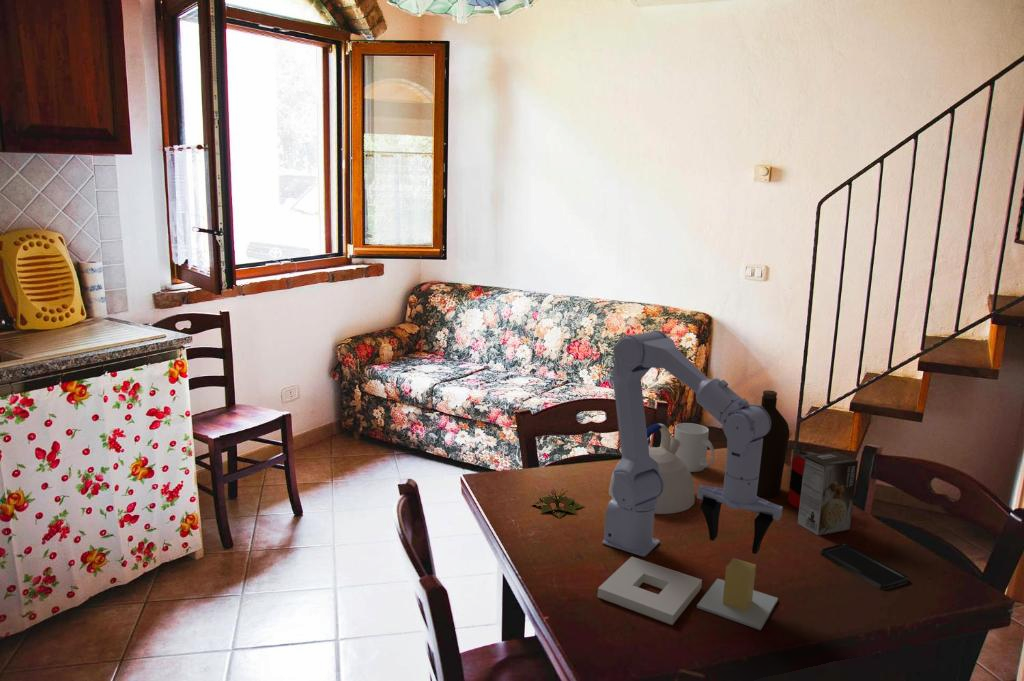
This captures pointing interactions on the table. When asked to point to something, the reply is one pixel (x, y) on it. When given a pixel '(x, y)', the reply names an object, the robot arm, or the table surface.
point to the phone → (864, 566)
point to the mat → (750, 617)
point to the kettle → (669, 474)
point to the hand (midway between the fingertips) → (734, 544)
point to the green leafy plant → (562, 500)
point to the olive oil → (772, 449)
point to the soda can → (797, 478)
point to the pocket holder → (659, 606)
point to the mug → (693, 445)
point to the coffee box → (827, 492)
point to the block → (739, 584)
